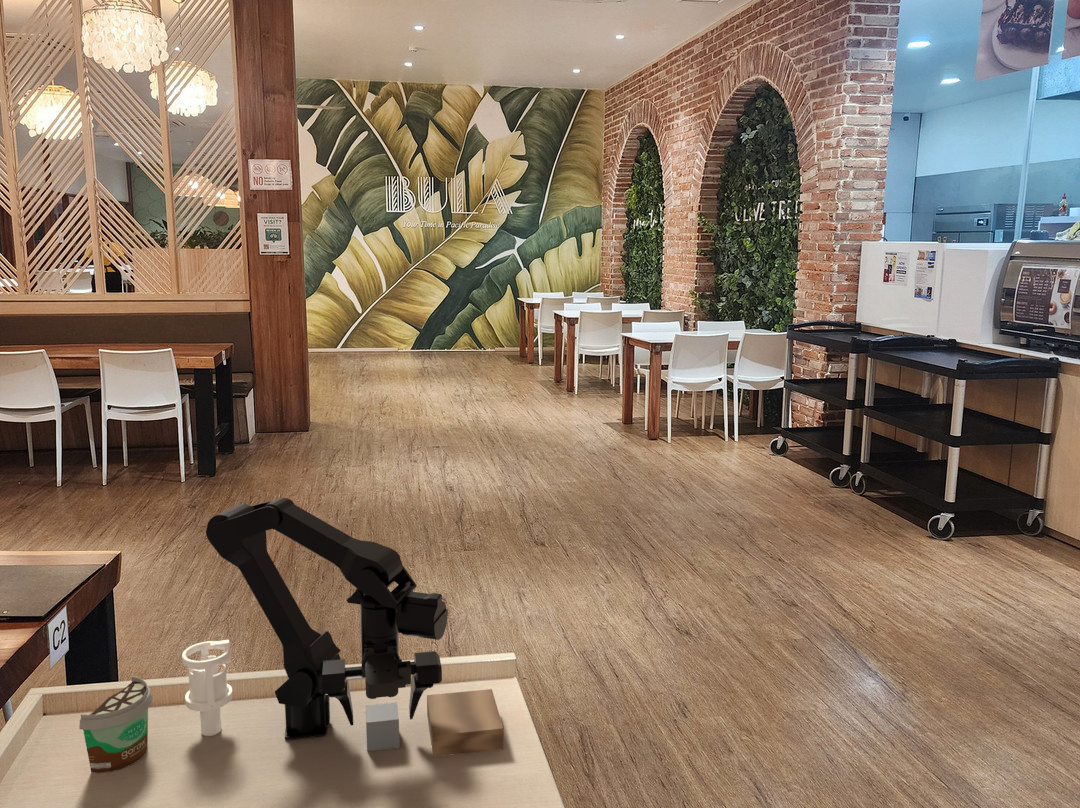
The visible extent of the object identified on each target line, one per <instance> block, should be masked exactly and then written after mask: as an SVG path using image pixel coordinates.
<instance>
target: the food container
mask: <svg viewBox="0 0 1080 808" xmlns="http://www.w3.org/2000/svg"><path fill="white" fill-rule="evenodd" d="M153 699H154V698H153V695H152V691H151V689H150V686H149V685H148V684H147V682H146V681H145V680H144V679H142V678H140V677H137V676H131V682H130V683H129V684H128V685H127V686H126V687H124V688H122V690H120V691H119V692H117V693H115V694H112V695H111V696H109V697H107V699H106V700H104V701H103V702H102V703H101V705H100V706H99V707H97V708H96V709H95V710H94V711H92V712H91V713H90V714H80V719H79V727H78V728H79V730H83V736H84V742H85V747H86V753H87V757H88V761H89V767H90V772H91V773H94V772H95V774H101V773H104V774H105V773H113V772H115V771H121V770H123V769H125V768H128V767H130V766H132V765H133V764H136V763H138V760H139V761H140V760H141V759H142V758H143V757H144V756H145V755H146V753H147V752H146V751H148V742H149V741H148V738H149V737H148V734H149V731H148V730H149V729H148V727H149V725H148V724H149V708H150V706H151V705H152V703H153ZM144 754H145V755H144ZM135 762H136V763H135Z"/></svg>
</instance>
